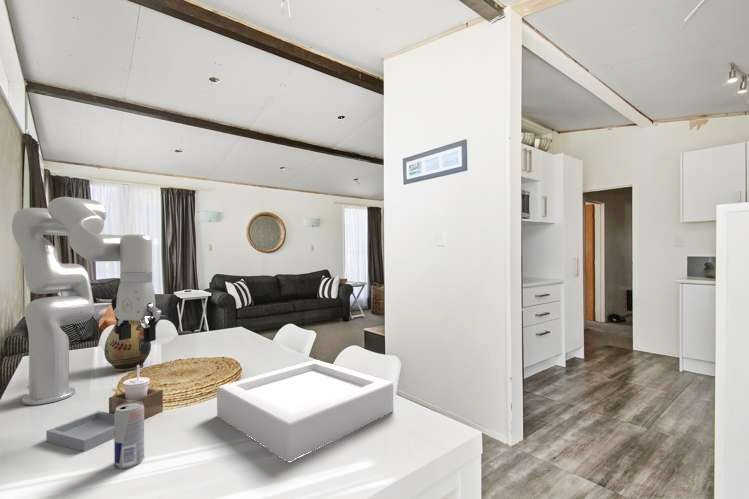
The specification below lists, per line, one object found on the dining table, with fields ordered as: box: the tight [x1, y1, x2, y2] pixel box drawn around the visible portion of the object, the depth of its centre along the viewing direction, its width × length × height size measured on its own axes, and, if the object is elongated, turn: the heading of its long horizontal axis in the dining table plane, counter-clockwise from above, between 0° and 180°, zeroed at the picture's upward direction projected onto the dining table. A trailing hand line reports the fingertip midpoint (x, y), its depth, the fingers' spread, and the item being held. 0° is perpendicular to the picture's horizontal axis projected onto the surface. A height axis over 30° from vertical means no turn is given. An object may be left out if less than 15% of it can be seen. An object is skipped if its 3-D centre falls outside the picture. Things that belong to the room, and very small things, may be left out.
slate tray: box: [45, 410, 114, 452], centre depth 92 cm, size 14×12×2 cm
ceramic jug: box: [103, 293, 152, 372], centre depth 146 cm, size 17×15×30 cm
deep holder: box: [108, 387, 164, 421], centre depth 103 cm, size 9×9×6 cm
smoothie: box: [122, 365, 151, 400], centre depth 103 cm, size 6×6×14 cm
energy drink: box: [113, 402, 145, 470], centre depth 80 cm, size 5×5×12 cm
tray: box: [216, 359, 394, 462], centre depth 103 cm, size 35×35×9 cm
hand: (137, 340), depth 103 cm, fingers open, 9 cm apart
